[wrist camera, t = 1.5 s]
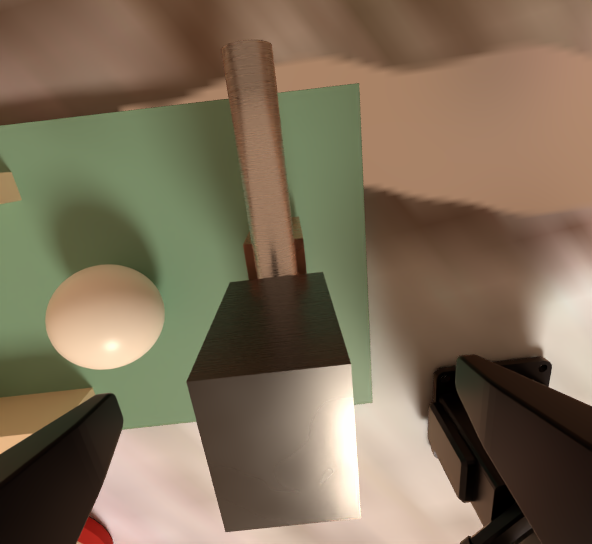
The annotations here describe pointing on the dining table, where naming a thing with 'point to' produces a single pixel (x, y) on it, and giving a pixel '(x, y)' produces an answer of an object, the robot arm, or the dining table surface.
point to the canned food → (94, 534)
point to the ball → (105, 317)
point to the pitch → (164, 240)
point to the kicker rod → (273, 345)
